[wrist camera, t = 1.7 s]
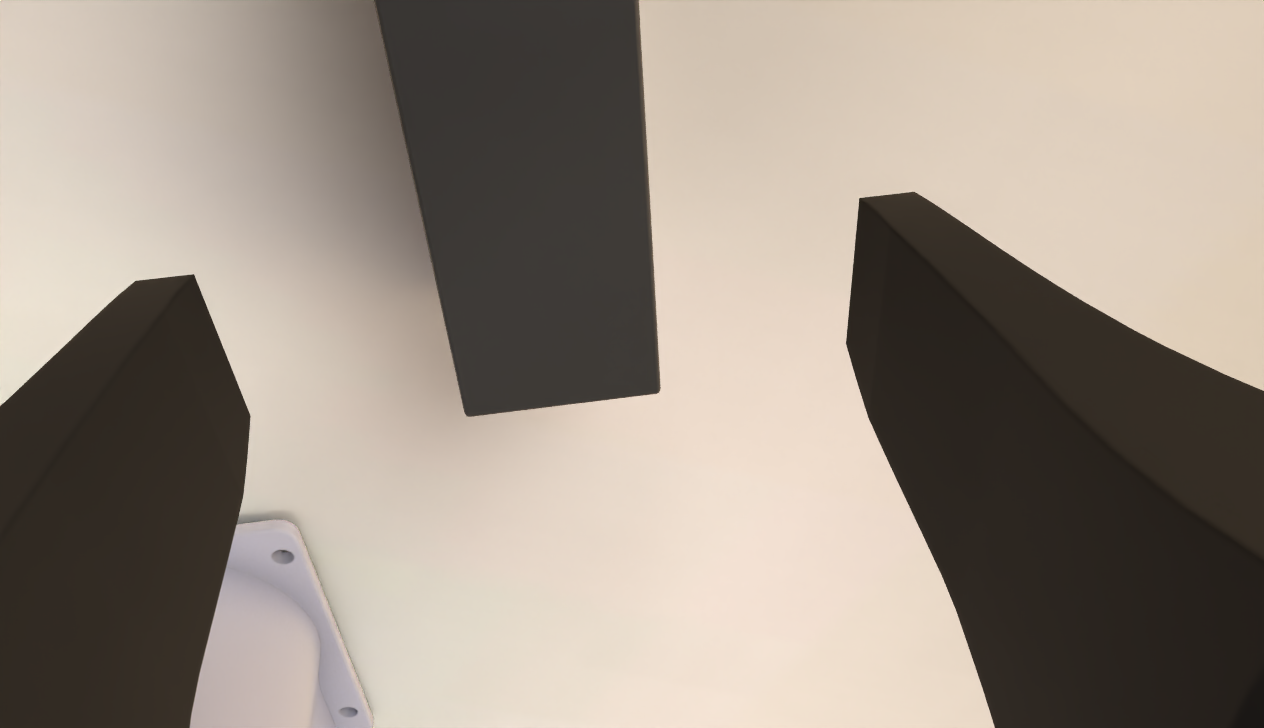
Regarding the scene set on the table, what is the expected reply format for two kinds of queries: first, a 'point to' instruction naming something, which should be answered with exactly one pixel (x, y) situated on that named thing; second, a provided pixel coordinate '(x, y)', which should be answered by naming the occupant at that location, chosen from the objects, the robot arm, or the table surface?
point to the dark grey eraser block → (532, 192)
